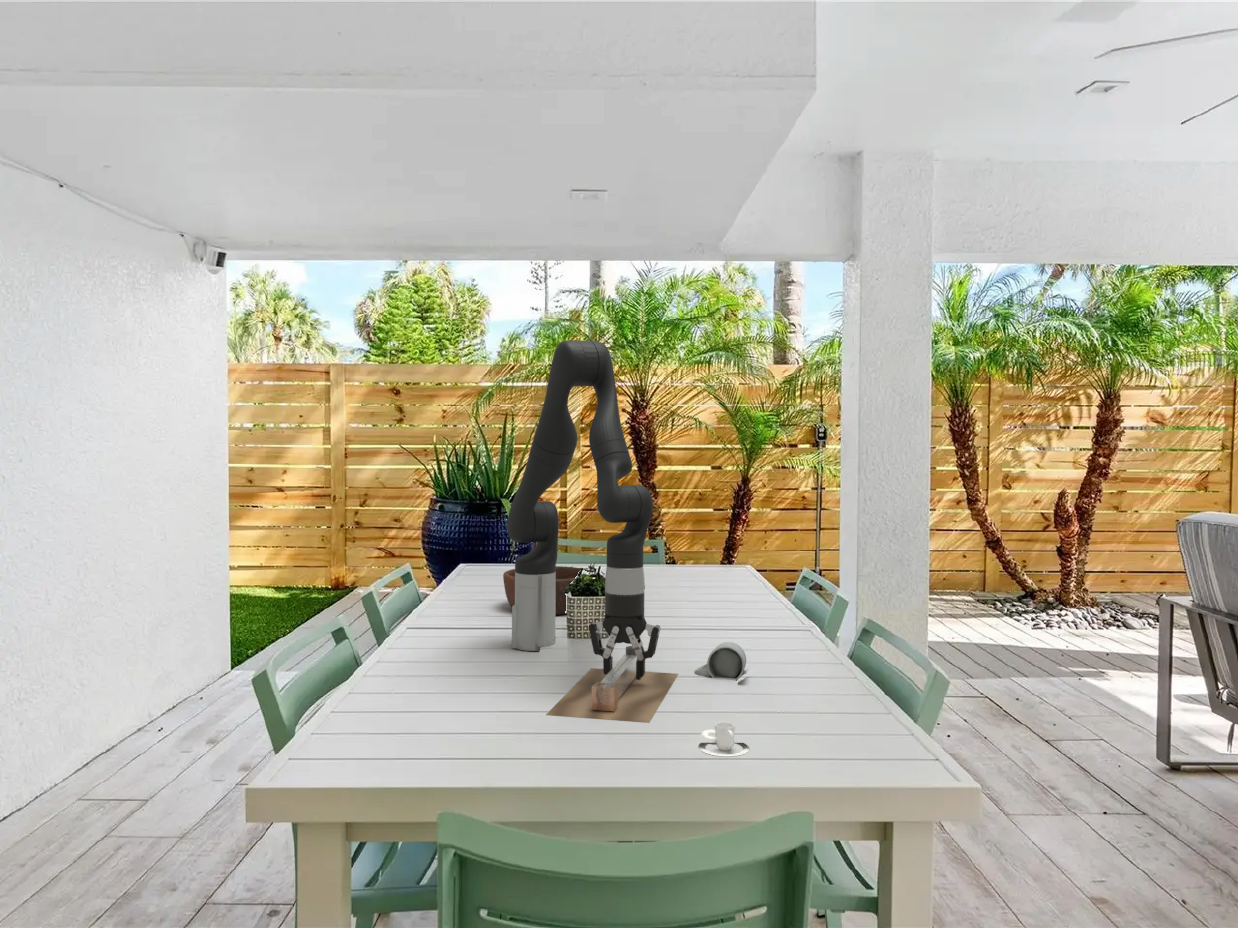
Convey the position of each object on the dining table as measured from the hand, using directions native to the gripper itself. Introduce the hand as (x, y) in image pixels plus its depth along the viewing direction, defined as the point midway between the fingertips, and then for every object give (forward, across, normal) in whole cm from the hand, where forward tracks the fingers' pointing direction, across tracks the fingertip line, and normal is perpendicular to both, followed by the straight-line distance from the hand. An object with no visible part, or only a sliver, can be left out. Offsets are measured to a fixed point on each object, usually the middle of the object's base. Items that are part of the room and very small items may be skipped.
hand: (624, 677), depth 179 cm
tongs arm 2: (+1, +1, -6) cm, 6 cm away
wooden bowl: (+3, -37, +73) cm, 82 cm away
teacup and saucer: (+3, +23, -26) cm, 35 cm away
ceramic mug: (+3, +17, +12) cm, 21 cm away
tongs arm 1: (+1, -1, -6) cm, 6 cm away
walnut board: (+2, 0, -6) cm, 6 cm away
